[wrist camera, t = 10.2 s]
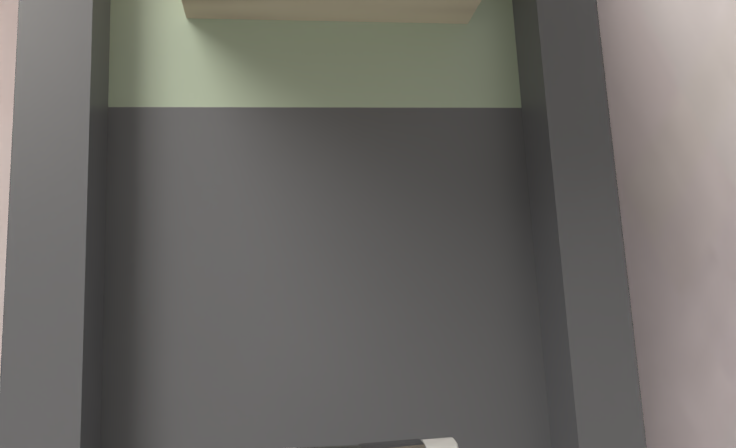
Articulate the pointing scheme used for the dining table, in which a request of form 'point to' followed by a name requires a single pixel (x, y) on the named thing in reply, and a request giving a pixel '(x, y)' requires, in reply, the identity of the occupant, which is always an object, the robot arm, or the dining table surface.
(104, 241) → the grey rimmed tray
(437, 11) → the block
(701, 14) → the dining table surface
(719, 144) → the dining table surface
